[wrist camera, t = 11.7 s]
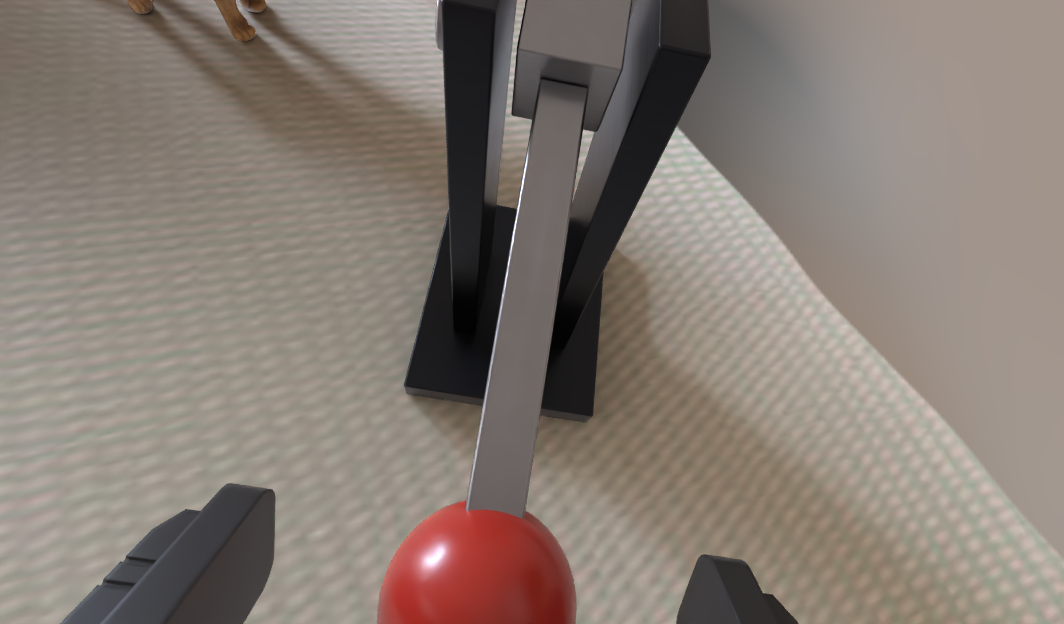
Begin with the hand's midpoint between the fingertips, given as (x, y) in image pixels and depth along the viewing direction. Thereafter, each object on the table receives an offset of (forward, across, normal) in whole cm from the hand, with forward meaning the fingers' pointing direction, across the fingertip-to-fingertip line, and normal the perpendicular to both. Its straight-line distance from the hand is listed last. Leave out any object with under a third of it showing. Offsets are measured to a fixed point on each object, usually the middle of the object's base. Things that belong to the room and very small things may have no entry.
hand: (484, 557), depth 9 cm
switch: (+4, 0, -3) cm, 5 cm away
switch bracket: (+15, 0, 0) cm, 15 cm away
